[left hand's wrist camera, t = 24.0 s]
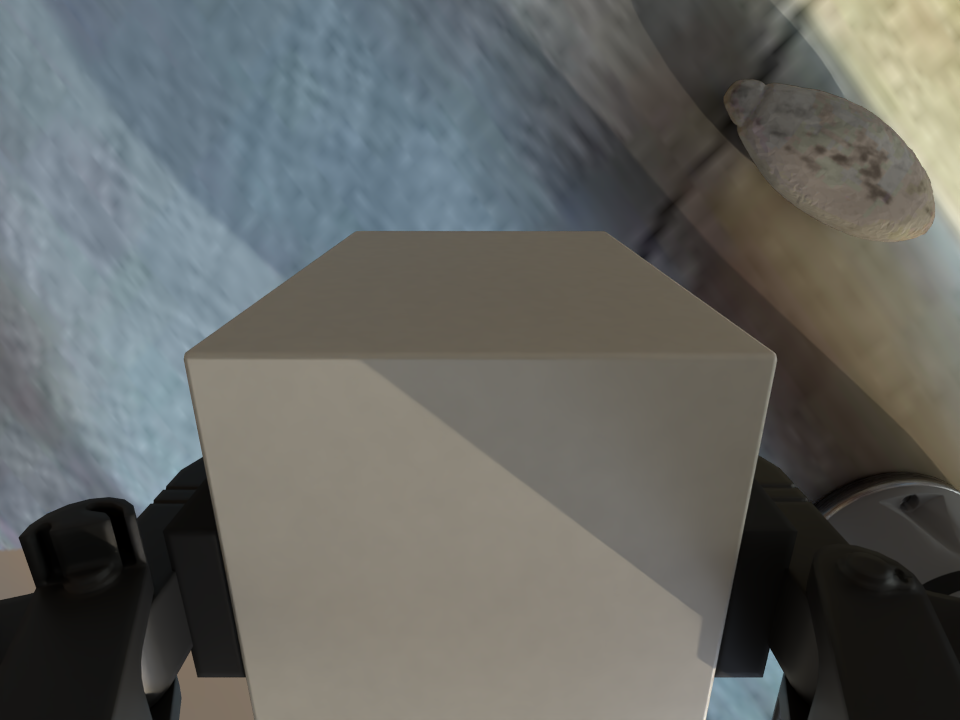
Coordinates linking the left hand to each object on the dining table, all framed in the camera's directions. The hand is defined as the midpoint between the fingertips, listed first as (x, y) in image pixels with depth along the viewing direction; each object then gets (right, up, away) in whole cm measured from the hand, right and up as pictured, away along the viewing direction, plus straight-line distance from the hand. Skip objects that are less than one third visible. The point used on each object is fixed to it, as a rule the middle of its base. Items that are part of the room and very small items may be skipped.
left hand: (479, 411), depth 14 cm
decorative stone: (+21, +14, +22) cm, 33 cm away
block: (0, +1, +3) cm, 4 cm away
